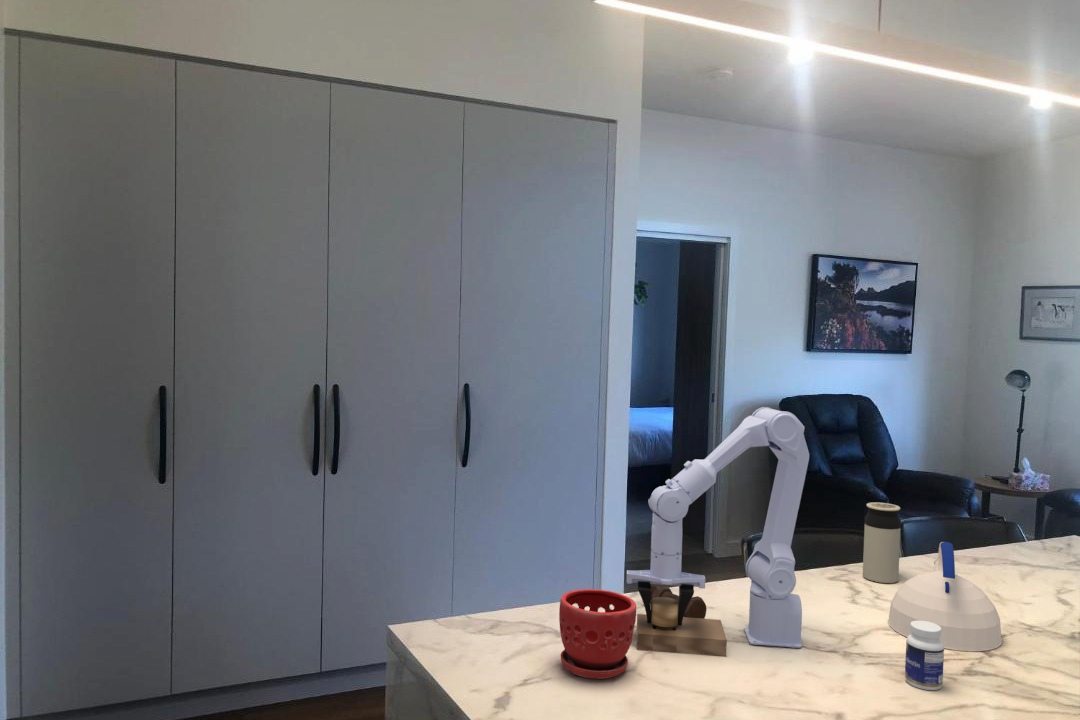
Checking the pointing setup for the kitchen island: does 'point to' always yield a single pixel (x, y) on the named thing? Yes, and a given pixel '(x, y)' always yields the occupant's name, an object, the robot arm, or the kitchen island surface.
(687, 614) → the bolt
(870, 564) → the travel mug
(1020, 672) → the kitchen island surface
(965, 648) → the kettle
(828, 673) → the kitchen island surface
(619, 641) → the plant pot
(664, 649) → the brown flat rectangular block
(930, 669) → the pill bottle
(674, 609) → the oak peg
